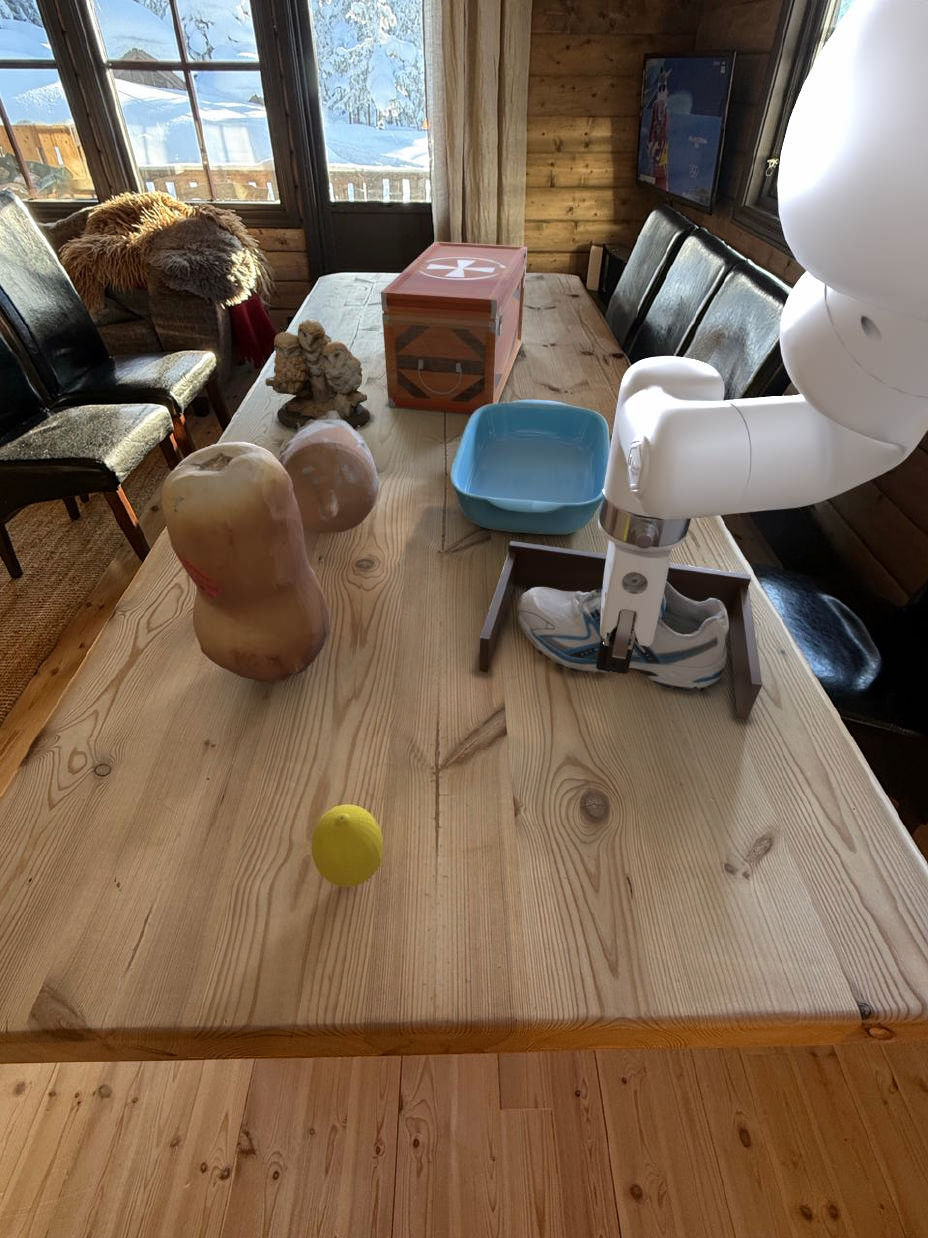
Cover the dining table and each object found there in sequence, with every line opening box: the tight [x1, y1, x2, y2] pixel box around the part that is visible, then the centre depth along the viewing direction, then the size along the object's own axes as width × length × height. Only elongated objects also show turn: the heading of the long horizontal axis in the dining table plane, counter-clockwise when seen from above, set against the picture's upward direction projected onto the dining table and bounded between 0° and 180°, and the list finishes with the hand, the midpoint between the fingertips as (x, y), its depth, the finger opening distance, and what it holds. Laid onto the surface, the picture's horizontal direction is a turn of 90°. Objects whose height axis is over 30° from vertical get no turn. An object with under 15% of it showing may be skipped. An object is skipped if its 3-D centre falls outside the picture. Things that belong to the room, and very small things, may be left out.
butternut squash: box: [161, 441, 331, 683], centre depth 64 cm, size 14×13×25 cm
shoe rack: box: [478, 540, 763, 720], centre depth 74 cm, size 17×28×6 cm, turn 76°
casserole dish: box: [450, 399, 610, 536], centre depth 100 cm, size 37×22×7 cm, turn 171°
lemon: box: [311, 804, 384, 888], centre depth 52 cm, size 6×6×8 cm
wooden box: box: [380, 241, 528, 415], centre depth 132 cm, size 20×41×20 cm, turn 169°
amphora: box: [277, 411, 380, 534], centre depth 93 cm, size 14×16×30 cm
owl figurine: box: [264, 318, 371, 431], centre depth 115 cm, size 18×12×17 cm, turn 87°
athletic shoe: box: [517, 581, 730, 691], centre depth 71 cm, size 10×23×12 cm, turn 78°
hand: (611, 666), depth 68 cm, fingers closed
